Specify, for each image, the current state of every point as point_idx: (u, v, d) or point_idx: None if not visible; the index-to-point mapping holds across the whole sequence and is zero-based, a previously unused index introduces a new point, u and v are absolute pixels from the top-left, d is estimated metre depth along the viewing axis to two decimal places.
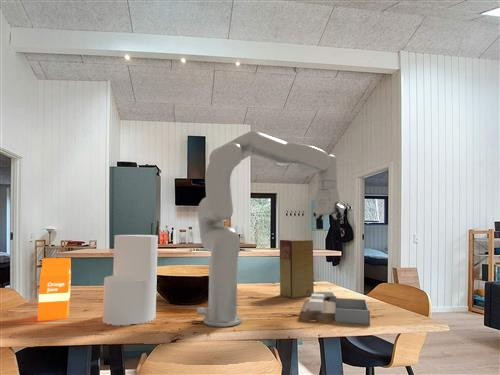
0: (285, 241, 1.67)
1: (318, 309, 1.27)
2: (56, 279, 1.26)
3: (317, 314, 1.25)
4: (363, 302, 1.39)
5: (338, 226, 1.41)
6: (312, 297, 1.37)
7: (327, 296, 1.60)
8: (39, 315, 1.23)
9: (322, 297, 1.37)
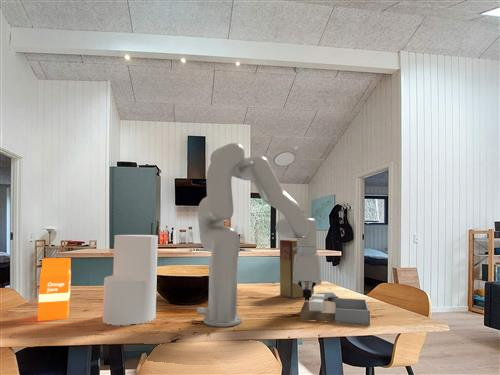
0: (285, 241, 1.67)
1: (318, 309, 1.27)
2: (56, 279, 1.26)
3: (317, 314, 1.25)
4: (363, 302, 1.39)
5: None
6: (312, 297, 1.37)
7: (329, 296, 1.59)
8: (39, 315, 1.23)
9: (322, 297, 1.37)
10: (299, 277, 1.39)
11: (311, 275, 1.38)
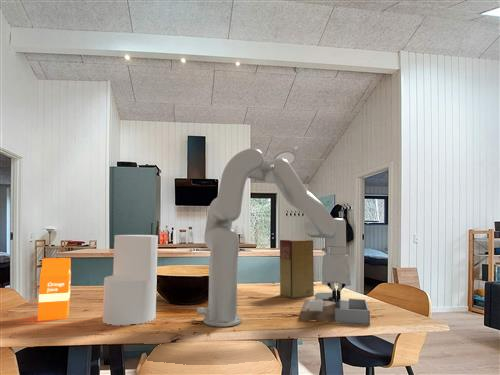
0: (285, 241, 1.67)
1: (318, 309, 1.27)
2: (56, 279, 1.26)
3: (317, 314, 1.25)
4: (363, 302, 1.39)
5: (340, 297, 1.37)
6: (347, 302, 1.34)
7: (330, 297, 1.59)
8: (39, 315, 1.23)
9: None
10: (329, 278, 1.36)
11: (341, 276, 1.35)
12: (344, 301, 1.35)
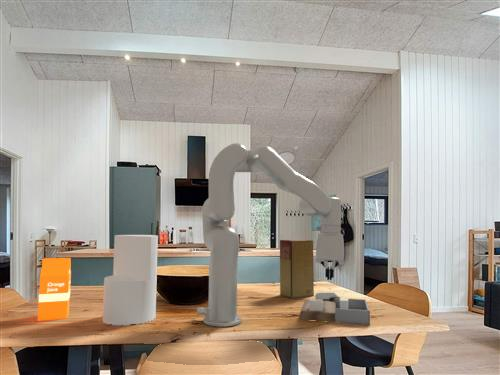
0: (285, 241, 1.67)
1: (318, 309, 1.27)
2: (56, 279, 1.26)
3: (317, 314, 1.25)
4: (363, 302, 1.39)
5: (333, 276, 1.38)
6: (346, 302, 1.34)
7: (331, 297, 1.58)
8: (39, 315, 1.23)
9: None
10: (322, 256, 1.37)
11: (334, 254, 1.36)
12: (343, 301, 1.35)
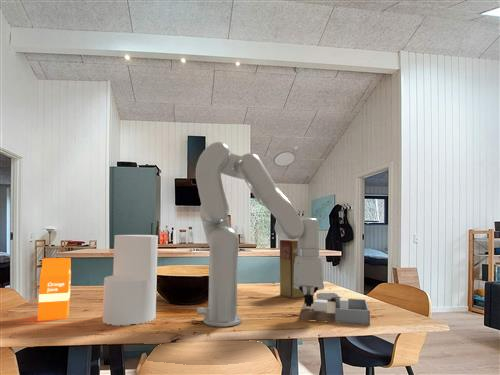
0: (285, 241, 1.67)
1: (323, 309, 1.27)
2: (56, 279, 1.26)
3: (317, 314, 1.25)
4: (363, 302, 1.39)
5: None
6: (346, 302, 1.34)
7: (332, 297, 1.58)
8: (39, 315, 1.23)
9: None
10: (300, 281, 1.29)
11: (313, 279, 1.28)
12: (343, 301, 1.35)
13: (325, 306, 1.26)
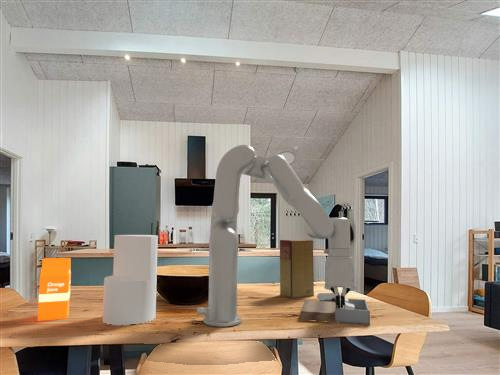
0: (285, 241, 1.67)
1: None
2: (56, 279, 1.26)
3: (317, 314, 1.25)
4: (363, 302, 1.39)
5: (344, 303, 1.27)
6: None
7: (333, 297, 1.58)
8: (39, 315, 1.23)
9: None
10: (332, 282, 1.26)
11: (345, 280, 1.25)
12: None
13: None
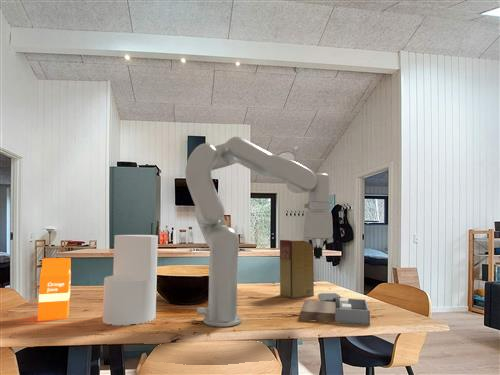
0: (285, 241, 1.67)
1: None
2: (56, 279, 1.26)
3: (317, 314, 1.25)
4: (363, 302, 1.39)
5: None
6: (346, 302, 1.34)
7: (334, 297, 1.57)
8: (39, 315, 1.23)
9: None
10: (310, 234, 1.32)
11: (323, 232, 1.31)
12: (343, 301, 1.35)
13: None
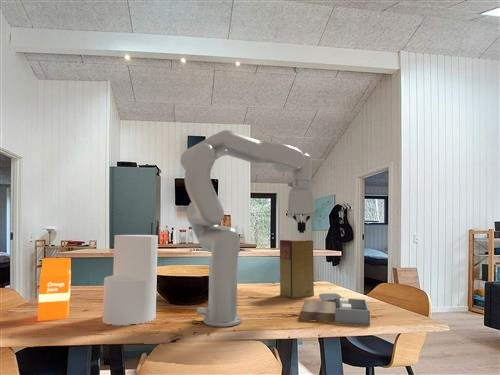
0: (285, 241, 1.67)
1: None
2: (56, 279, 1.26)
3: (317, 314, 1.25)
4: (363, 302, 1.39)
5: (305, 229, 1.43)
6: (346, 302, 1.34)
7: None
8: (39, 315, 1.23)
9: None
10: (294, 210, 1.42)
11: (305, 207, 1.41)
12: (343, 301, 1.35)
13: None
